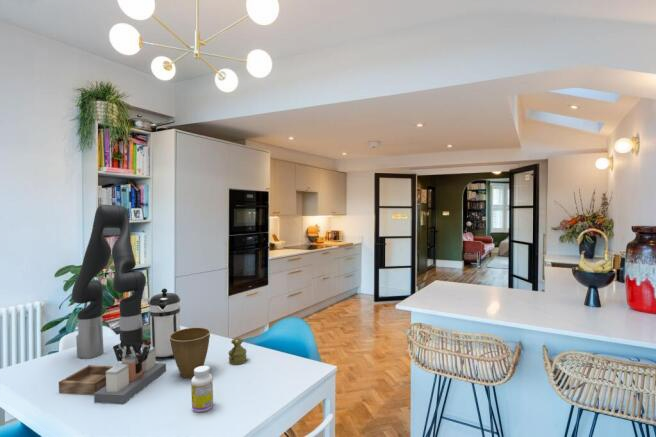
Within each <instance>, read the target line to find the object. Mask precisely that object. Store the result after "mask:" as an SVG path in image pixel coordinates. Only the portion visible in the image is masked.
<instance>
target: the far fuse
mask: <svg viewBox="0 0 656 437" xmlns="http://www.w3.org/2000/svg"><path fill="white" fill-rule="evenodd" d="M141 352H143V351H142V349H141ZM155 357H156V356H155V347H150V350H149V354H148V357H147V359H146V360H145V361H143V372H147V371H149V370H150V369H151V368H153V367H154V366H156V363H157V361H156V360H157V359H156V360H155Z"/></svg>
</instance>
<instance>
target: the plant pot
mask: <svg viewBox="0 0 656 437" xmlns="http://www.w3.org/2000/svg"><path fill="white" fill-rule="evenodd" d="M210 338H211V331H210V330H209V329H208V328H205V327H196V326H195V327H188V328H182V329H180V330H179V331H176V332H174V333H172V334H171V335H170V342H171V347H172V351H173V355H174V357H173V358H174V361H175V364H176V367H177V369H178V372H179V373H180V376H181V377H183V378H187V379H188V378H193V377H194V376H195V374H194V369H195V368H197V367H199V366H205V362H206V359H207V353H208V351H209V349H208V348H209V343H210Z"/></svg>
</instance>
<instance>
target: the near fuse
mask: <svg viewBox="0 0 656 437" xmlns="http://www.w3.org/2000/svg"><path fill="white" fill-rule="evenodd" d="M113 366H114V367H113V368H111V369H109V370H108V371H106V390H107V392H110V393H118V392H120V391H121V390H122V389H124V388H125V387H126V386H128V385H129V368H128V365H127V364H122V363H118V364H116V365H113Z"/></svg>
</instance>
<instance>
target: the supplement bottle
mask: <svg viewBox="0 0 656 437" xmlns="http://www.w3.org/2000/svg"><path fill="white" fill-rule="evenodd" d="M194 374H195V376H194V377H191V380H190V386H191V409H192V410H193V411H194V412H196V413H204V412H208V411H209V410H210V409H212V408H213V407H214V385H213V384H214V383H213V382H214V381H213V380H214V378H213V375H212V374H211V373H210V366H209V365H204V366H199V367H197V368H195V369H194Z"/></svg>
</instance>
